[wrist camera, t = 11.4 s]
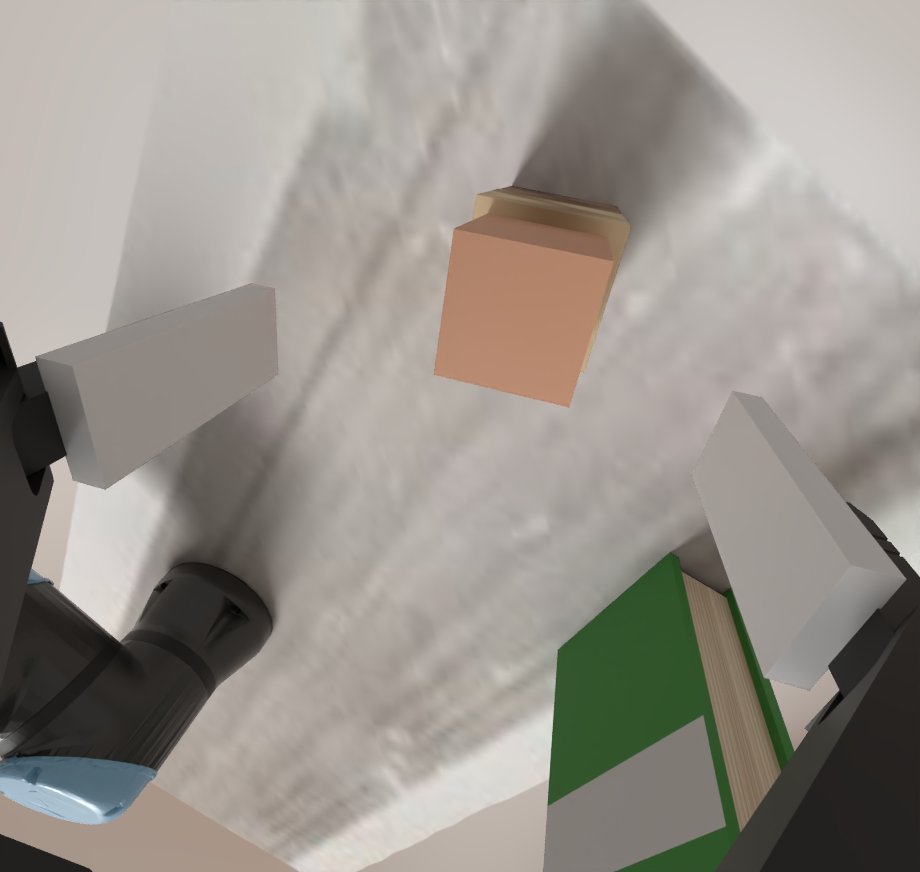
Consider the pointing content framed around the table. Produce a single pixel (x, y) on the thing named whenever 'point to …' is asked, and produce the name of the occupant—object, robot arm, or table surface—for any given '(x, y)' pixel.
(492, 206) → the oak middle block
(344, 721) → the table surface
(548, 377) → the terracotta block
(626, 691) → the hardback book
